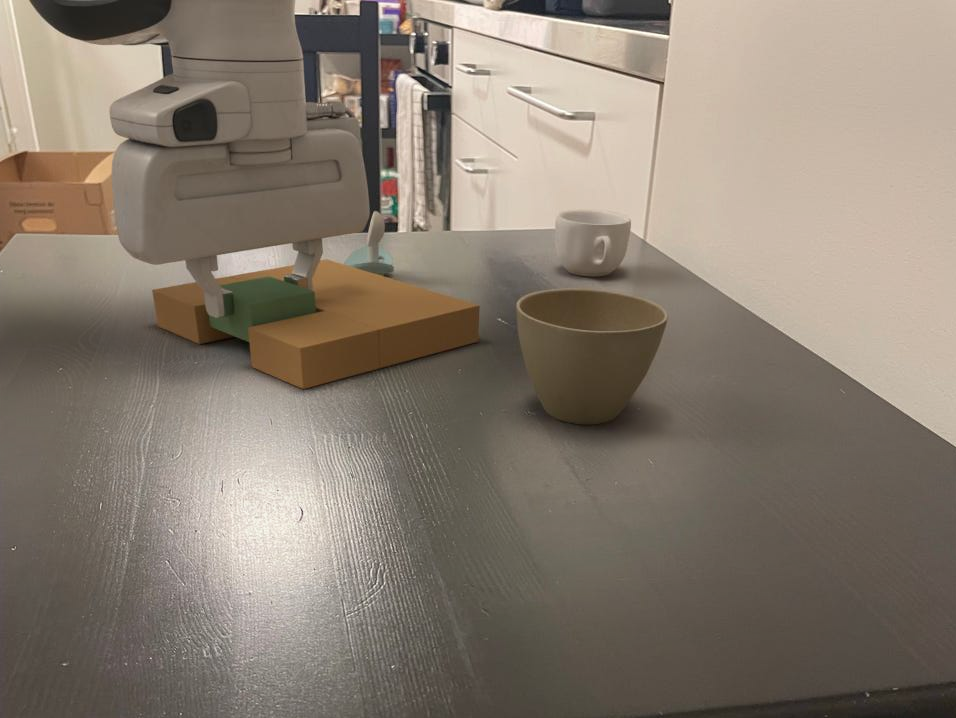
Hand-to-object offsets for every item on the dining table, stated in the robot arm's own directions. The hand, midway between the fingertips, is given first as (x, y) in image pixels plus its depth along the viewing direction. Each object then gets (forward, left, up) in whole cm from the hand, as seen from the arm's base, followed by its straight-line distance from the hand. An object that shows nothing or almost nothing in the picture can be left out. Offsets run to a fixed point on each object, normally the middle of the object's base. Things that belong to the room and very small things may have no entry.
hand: (261, 307), depth 75 cm
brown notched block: (0, +5, -3) cm, 6 cm away
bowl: (+26, +8, -3) cm, 27 cm away
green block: (0, 0, -2) cm, 2 cm away
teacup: (+1, +40, -3) cm, 40 cm away
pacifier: (-12, +20, -3) cm, 24 cm away
